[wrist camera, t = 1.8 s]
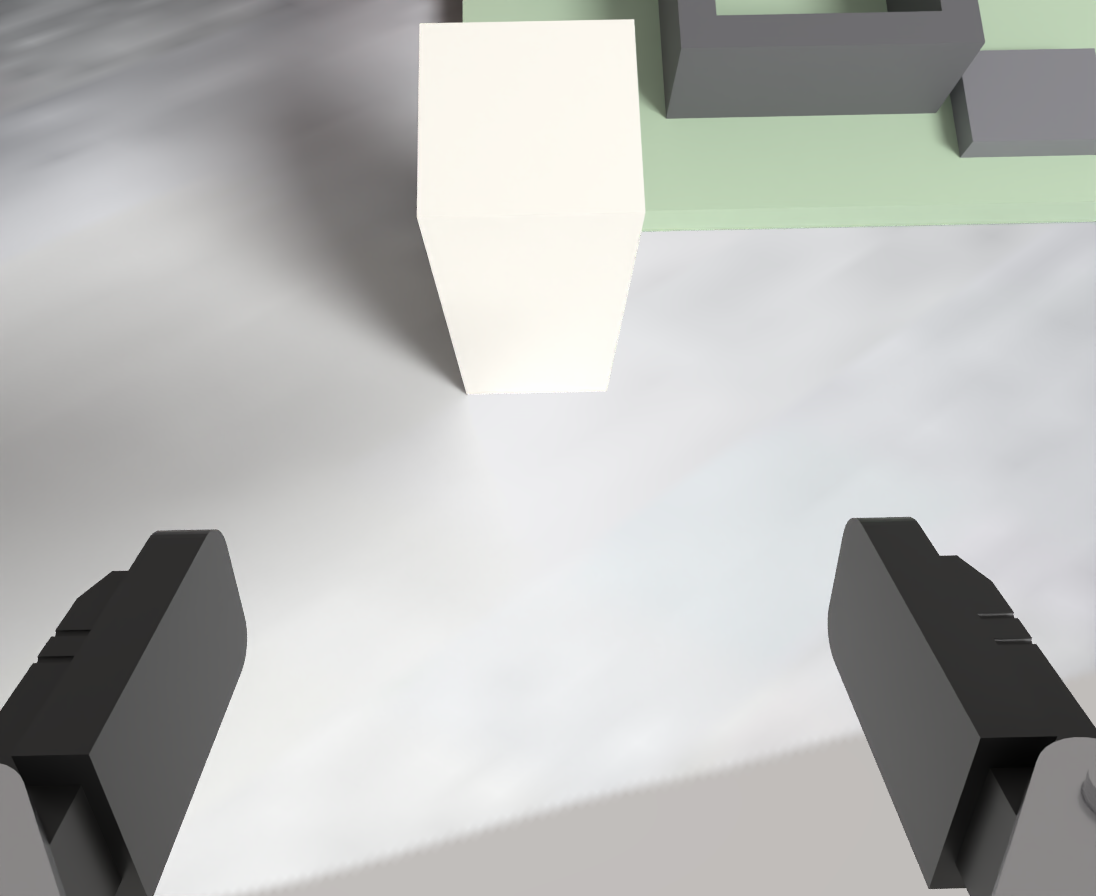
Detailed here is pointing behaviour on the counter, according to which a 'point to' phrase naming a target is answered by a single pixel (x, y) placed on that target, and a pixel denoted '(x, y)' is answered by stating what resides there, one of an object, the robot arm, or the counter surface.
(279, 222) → the counter surface
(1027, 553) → the counter surface
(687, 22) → the board
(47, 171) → the counter surface
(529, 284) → the plug
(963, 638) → the robot arm
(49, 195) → the counter surface
